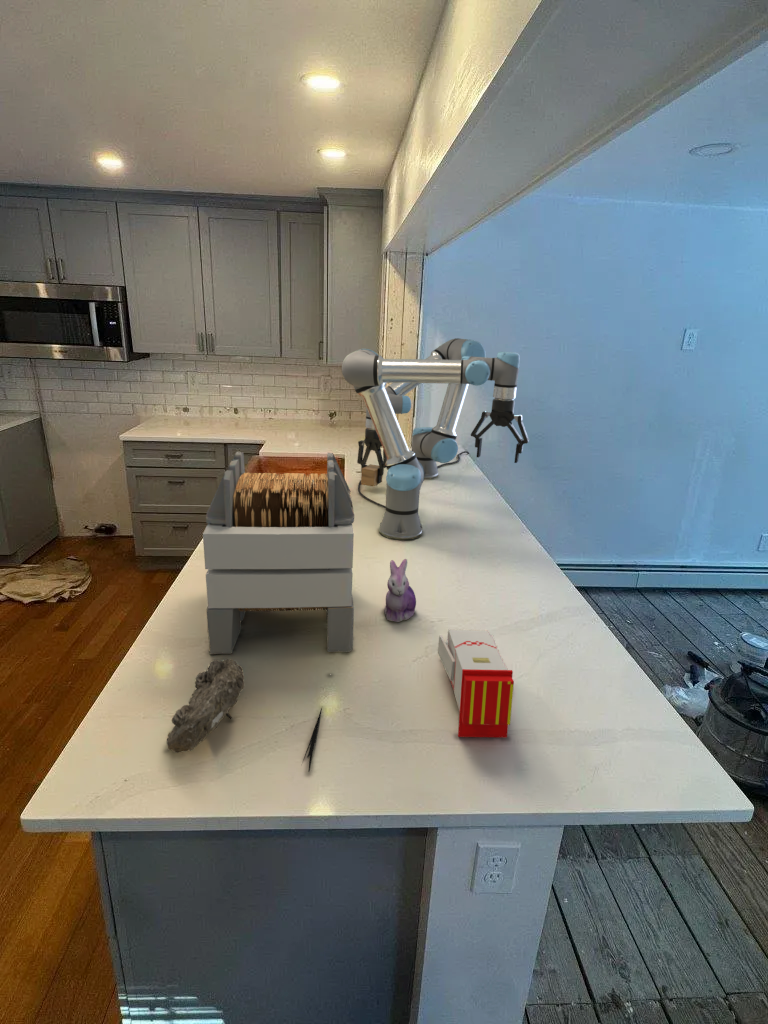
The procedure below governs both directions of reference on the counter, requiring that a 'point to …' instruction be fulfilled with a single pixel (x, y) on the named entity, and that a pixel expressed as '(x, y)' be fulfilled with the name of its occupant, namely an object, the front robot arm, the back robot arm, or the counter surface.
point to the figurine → (399, 594)
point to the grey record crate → (279, 550)
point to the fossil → (206, 705)
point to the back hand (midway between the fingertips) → (371, 481)
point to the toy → (478, 682)
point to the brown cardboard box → (370, 475)
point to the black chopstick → (313, 740)
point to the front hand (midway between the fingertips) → (497, 459)
